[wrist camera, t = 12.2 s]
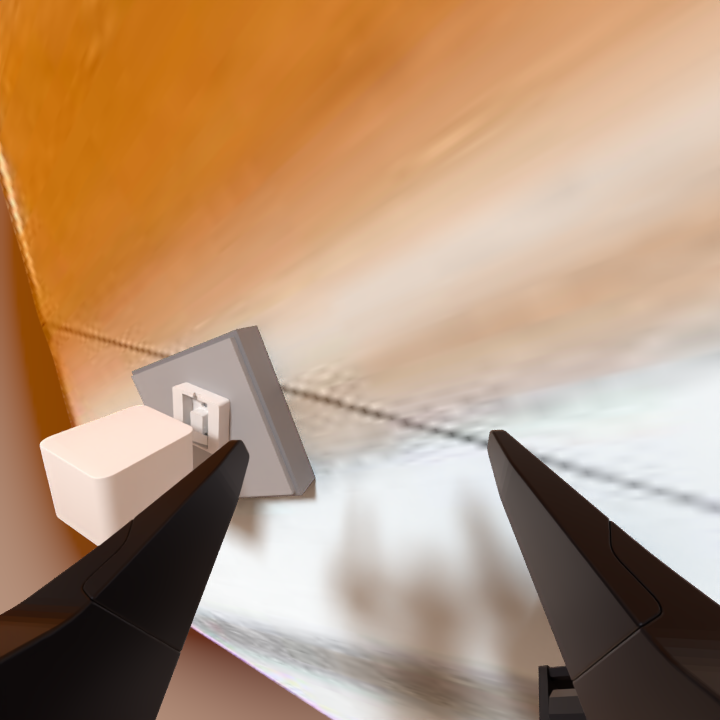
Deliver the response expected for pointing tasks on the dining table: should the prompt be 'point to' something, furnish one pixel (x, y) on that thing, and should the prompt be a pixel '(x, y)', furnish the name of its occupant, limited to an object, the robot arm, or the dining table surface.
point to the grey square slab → (238, 407)
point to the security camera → (130, 459)
